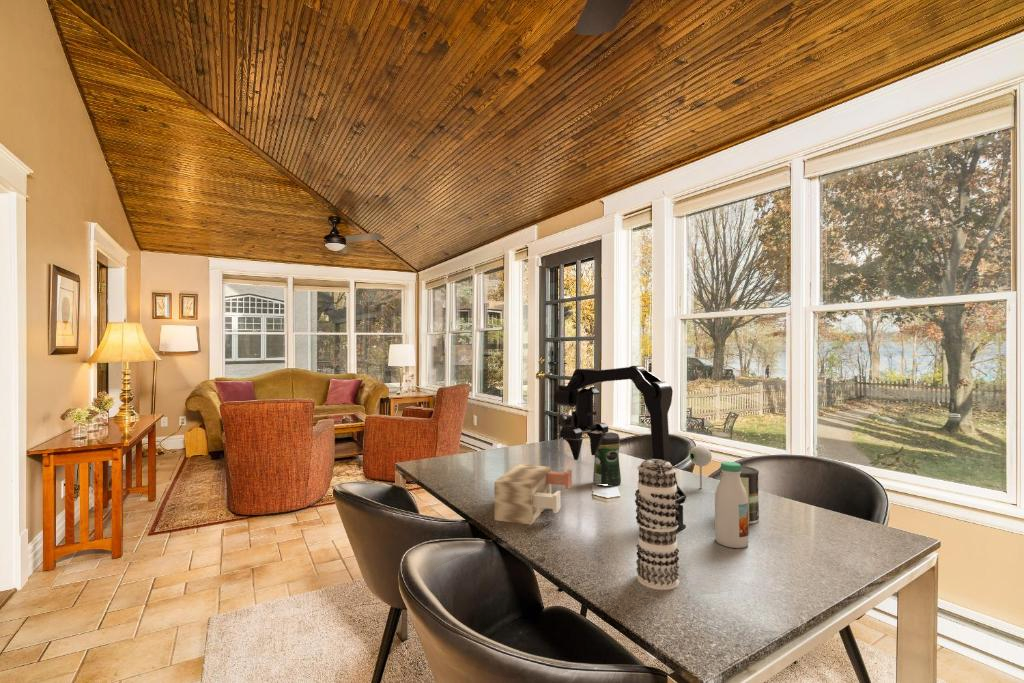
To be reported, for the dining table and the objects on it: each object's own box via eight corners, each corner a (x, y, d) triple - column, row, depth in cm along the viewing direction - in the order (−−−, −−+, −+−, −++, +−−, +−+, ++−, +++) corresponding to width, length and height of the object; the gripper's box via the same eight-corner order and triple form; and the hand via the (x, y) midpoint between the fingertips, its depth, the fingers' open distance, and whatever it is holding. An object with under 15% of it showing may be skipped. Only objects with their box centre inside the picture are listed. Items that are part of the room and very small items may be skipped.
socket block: (551, 501, 153) (551, 466, 153) (531, 524, 133) (531, 485, 133) (518, 497, 157) (518, 464, 157) (494, 520, 136) (494, 481, 136)
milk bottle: (729, 550, 115) (728, 467, 115) (708, 538, 123) (707, 460, 123) (755, 547, 117) (754, 465, 118) (733, 535, 125) (732, 458, 125)
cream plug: (560, 507, 136) (560, 490, 136) (556, 513, 131) (556, 495, 131) (520, 503, 140) (520, 487, 140) (515, 508, 135) (515, 491, 135)
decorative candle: (687, 579, 101) (686, 460, 101) (669, 595, 94) (668, 469, 94) (647, 566, 107) (646, 454, 107) (627, 581, 100) (626, 462, 101)
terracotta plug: (571, 484, 150) (571, 469, 150) (568, 489, 146) (568, 473, 146) (535, 481, 154) (535, 466, 154) (531, 485, 150) (530, 470, 150)
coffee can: (748, 511, 143) (747, 464, 143) (766, 524, 133) (766, 473, 133) (713, 511, 143) (713, 464, 143) (729, 524, 132) (729, 473, 133)
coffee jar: (612, 479, 178) (611, 430, 178) (624, 485, 171) (623, 433, 171) (589, 482, 175) (589, 431, 175) (600, 488, 167) (600, 435, 168)
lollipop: (685, 486, 169) (685, 444, 169) (702, 484, 171) (702, 443, 171) (699, 492, 162) (698, 448, 162) (716, 490, 164) (716, 447, 165)
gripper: (581, 403, 163) (581, 449, 163) (546, 408, 150) (546, 458, 149) (609, 406, 155) (609, 454, 155) (574, 411, 142) (574, 464, 142)
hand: (584, 457), depth 150 cm, fingers open, 9 cm apart
